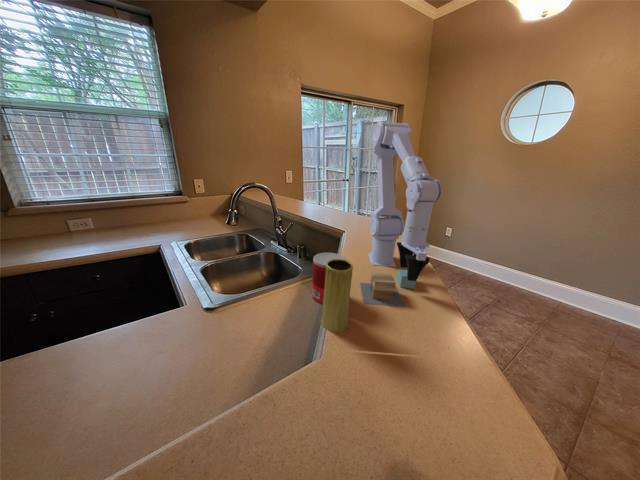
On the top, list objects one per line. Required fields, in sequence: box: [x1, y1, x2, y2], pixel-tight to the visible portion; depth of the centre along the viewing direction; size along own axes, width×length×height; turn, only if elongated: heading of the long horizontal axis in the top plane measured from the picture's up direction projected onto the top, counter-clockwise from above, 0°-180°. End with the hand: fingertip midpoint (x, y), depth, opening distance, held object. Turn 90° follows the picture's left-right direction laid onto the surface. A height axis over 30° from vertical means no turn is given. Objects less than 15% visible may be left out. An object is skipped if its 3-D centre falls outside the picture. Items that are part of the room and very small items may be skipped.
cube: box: [396, 269, 417, 289], centre depth 70 cm, size 4×4×4 cm
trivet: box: [359, 282, 406, 308], centre depth 65 cm, size 10×10×1 cm
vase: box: [320, 259, 354, 333], centre depth 51 cm, size 6×6×14 cm
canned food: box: [311, 252, 347, 306], centre depth 61 cm, size 8×8×11 cm
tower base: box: [370, 281, 394, 300], centre depth 65 cm, size 5×5×2 cm
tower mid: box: [370, 271, 397, 291], centre depth 64 cm, size 5×5×2 cm
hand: (407, 273), depth 69 cm, fingers open, 7 cm apart
